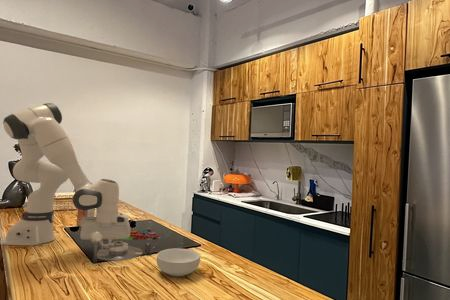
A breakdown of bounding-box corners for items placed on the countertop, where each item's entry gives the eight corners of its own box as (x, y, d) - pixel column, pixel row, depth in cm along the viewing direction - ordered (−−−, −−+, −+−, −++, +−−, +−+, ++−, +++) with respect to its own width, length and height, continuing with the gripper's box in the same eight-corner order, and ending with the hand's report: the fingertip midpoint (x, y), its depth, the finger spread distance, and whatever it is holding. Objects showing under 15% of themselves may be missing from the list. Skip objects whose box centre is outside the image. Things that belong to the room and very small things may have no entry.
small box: (76, 226, 185) (77, 208, 185) (83, 224, 190) (84, 206, 190) (86, 228, 182) (87, 209, 182) (94, 226, 187) (95, 208, 187)
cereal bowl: (180, 285, 111) (181, 265, 111) (146, 274, 120) (147, 255, 120) (207, 271, 125) (208, 253, 125) (175, 262, 134) (176, 245, 134)
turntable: (91, 264, 125) (91, 250, 125) (97, 249, 145) (98, 236, 145) (151, 262, 132) (152, 248, 132) (149, 247, 151) (150, 235, 151)
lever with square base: (87, 268, 122) (89, 233, 122) (89, 263, 127) (91, 229, 127) (100, 268, 123) (101, 233, 123) (101, 263, 128) (103, 229, 128)
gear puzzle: (103, 248, 149) (103, 239, 149) (92, 240, 161) (92, 232, 161) (162, 239, 169) (162, 231, 169) (148, 232, 181) (148, 225, 181)
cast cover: (107, 256, 133) (108, 244, 133) (109, 250, 140) (110, 239, 140) (127, 255, 135) (127, 244, 135) (128, 249, 142) (128, 239, 142)
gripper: (79, 218, 130) (77, 252, 130) (131, 218, 136) (129, 250, 136) (82, 215, 136) (80, 247, 136) (131, 215, 142) (129, 246, 142)
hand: (105, 249), depth 136 cm, fingers closed
